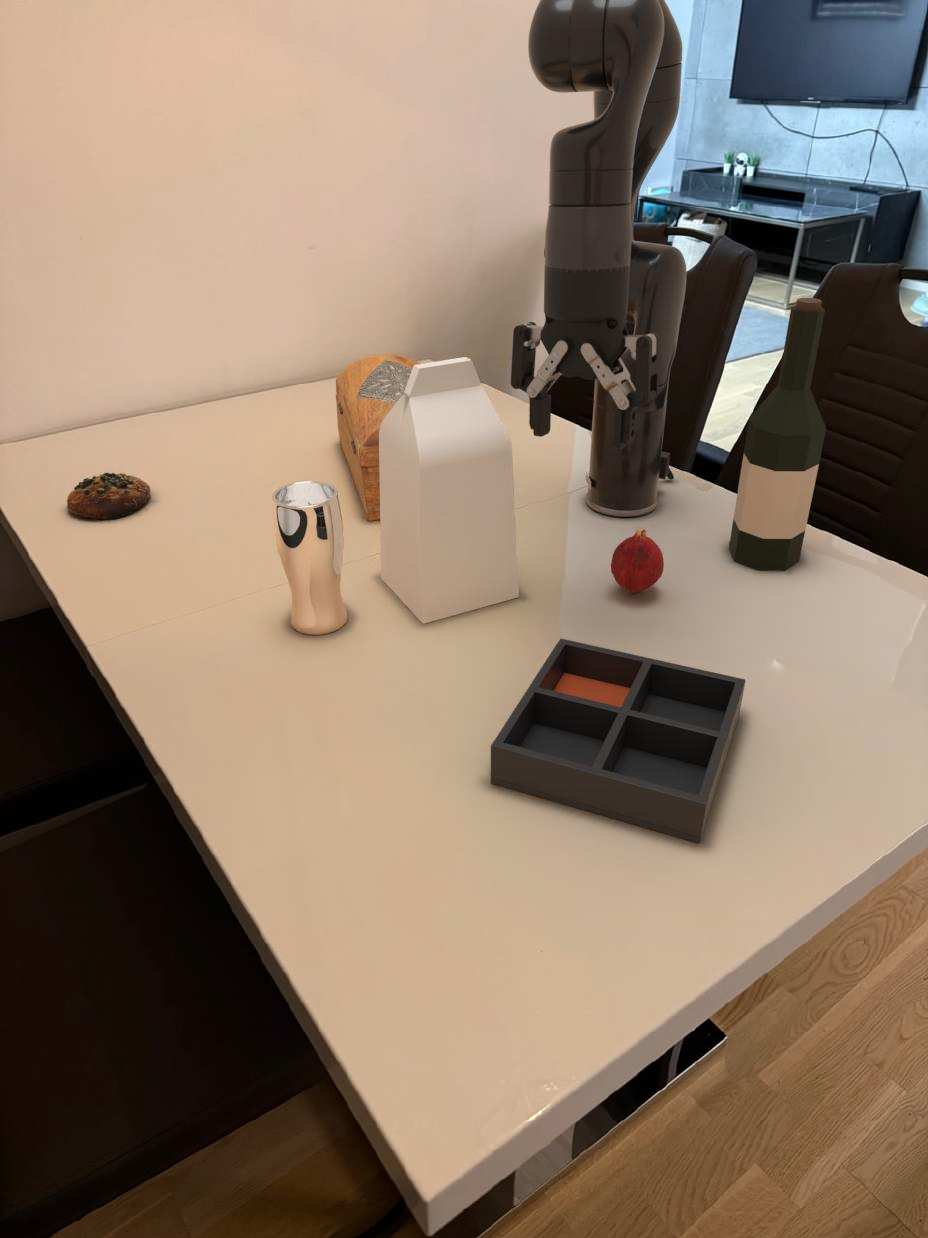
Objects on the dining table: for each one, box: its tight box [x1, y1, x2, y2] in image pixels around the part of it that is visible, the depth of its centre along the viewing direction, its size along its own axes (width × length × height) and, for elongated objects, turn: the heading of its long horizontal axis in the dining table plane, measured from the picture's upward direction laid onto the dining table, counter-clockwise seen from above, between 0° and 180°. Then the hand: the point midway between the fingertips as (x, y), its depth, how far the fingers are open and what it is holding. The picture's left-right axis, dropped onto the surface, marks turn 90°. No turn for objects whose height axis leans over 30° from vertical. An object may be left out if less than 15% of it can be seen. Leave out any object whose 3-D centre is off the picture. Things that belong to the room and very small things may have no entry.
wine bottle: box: [728, 297, 827, 572], centre depth 103 cm, size 8×8×30 cm
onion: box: [610, 527, 665, 595], centre depth 102 cm, size 6×6×8 cm
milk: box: [379, 356, 520, 625], centre depth 99 cm, size 12×12×26 cm
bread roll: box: [66, 472, 151, 521], centre depth 126 cm, size 11×11×5 cm
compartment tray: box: [490, 638, 746, 844], centre depth 80 cm, size 18×18×4 cm
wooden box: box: [335, 354, 422, 522], centre depth 131 cm, size 30×16×14 cm, turn 12°
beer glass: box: [271, 480, 348, 636], centre depth 96 cm, size 7×7×15 cm
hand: (580, 440), depth 88 cm, fingers open, 8 cm apart
